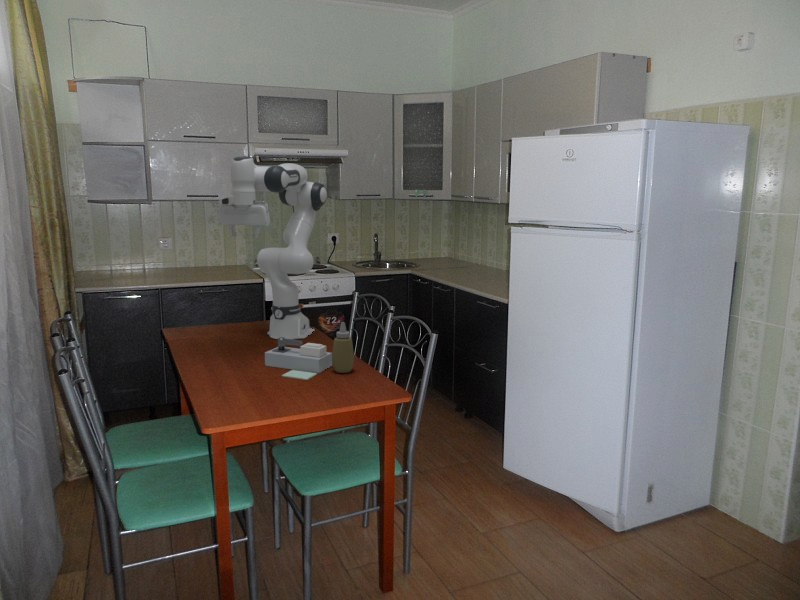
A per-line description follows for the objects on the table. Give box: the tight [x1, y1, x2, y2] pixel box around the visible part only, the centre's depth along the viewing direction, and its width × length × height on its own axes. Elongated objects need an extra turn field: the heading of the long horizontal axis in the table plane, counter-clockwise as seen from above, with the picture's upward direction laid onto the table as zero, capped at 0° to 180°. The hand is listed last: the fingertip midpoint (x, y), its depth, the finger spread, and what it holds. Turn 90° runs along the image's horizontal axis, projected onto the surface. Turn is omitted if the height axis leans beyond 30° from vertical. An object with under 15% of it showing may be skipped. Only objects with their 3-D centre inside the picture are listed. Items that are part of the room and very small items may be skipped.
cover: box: [299, 342, 327, 357], centre depth 222 cm, size 5×8×4 cm, turn 69°
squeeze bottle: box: [332, 321, 355, 374], centre depth 218 cm, size 8×8×18 cm
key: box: [277, 337, 303, 350], centre depth 225 cm, size 2×10×4 cm, turn 69°
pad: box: [281, 369, 318, 381], centre depth 214 cm, size 7×10×1 cm
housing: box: [264, 346, 333, 374], centre depth 225 cm, size 10×22×5 cm, turn 69°
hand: (244, 237), depth 231 cm, fingers open, 8 cm apart
